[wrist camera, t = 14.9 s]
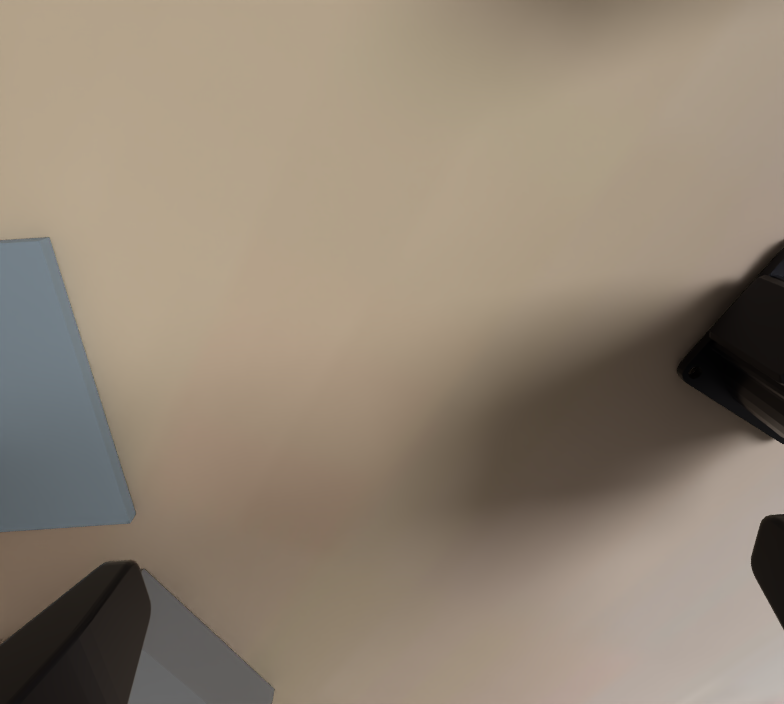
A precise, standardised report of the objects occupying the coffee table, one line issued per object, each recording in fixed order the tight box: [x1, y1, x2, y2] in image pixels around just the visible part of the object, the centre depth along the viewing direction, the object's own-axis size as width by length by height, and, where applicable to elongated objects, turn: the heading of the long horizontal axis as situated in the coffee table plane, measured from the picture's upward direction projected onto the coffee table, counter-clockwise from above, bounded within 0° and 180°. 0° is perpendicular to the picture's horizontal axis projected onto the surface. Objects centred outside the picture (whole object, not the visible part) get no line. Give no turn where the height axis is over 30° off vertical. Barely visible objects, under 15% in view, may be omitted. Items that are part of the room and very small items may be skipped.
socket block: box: [128, 569, 274, 704], centre depth 26 cm, size 10×10×3 cm
